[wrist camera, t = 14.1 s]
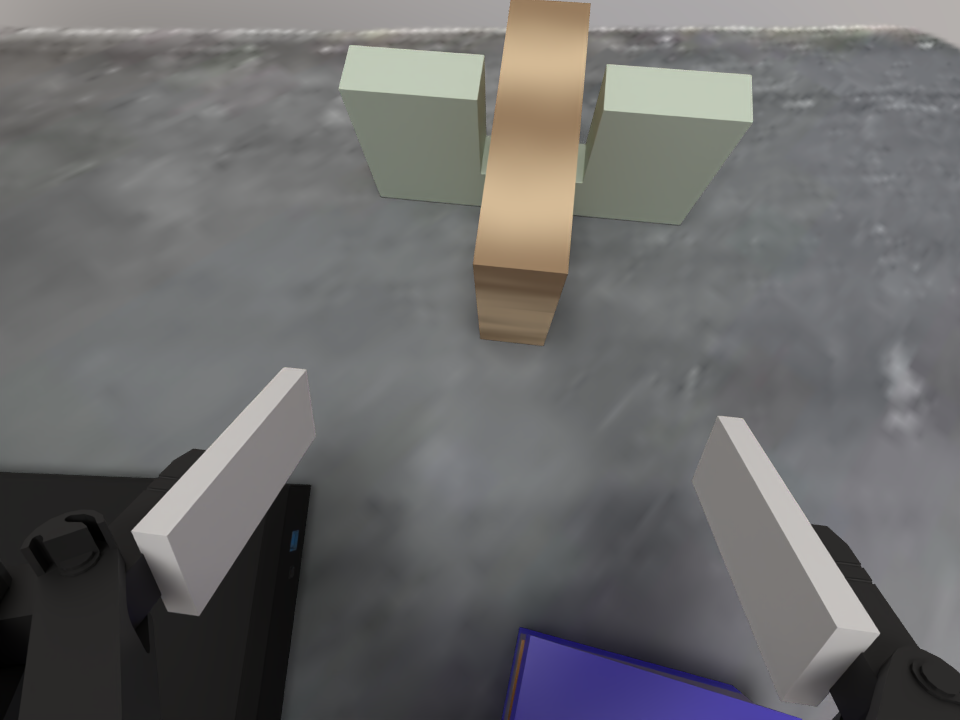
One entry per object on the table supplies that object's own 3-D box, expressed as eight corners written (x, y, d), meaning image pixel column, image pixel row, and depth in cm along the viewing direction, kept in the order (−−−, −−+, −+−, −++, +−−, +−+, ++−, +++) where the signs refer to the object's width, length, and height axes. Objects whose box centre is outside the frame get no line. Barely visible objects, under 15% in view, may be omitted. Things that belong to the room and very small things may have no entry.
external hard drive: (-103, 468, 25) (-179, 465, 23) (314, 484, 24) (290, 484, 22) (-215, 780, 22) (-324, 825, 19) (272, 814, 21) (236, 868, 18)
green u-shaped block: (380, 196, 28) (338, 88, 21) (388, 162, 29) (349, 45, 21) (680, 225, 27) (752, 122, 20) (680, 188, 28) (751, 74, 20)
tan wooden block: (543, 345, 26) (567, 273, 17) (480, 338, 26) (472, 264, 17) (562, 148, 29) (590, 3, 20) (506, 143, 29) (510, -2, 21)
